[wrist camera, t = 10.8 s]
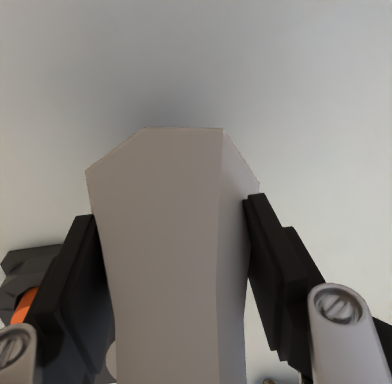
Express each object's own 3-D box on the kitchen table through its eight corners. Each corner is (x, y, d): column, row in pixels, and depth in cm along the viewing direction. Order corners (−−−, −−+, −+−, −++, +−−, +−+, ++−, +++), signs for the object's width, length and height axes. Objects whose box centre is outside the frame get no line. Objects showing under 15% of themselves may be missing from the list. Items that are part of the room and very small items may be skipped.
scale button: (11, 289, 21) (-2, 310, 19) (75, 280, 21) (68, 300, 19) (33, 330, 23) (24, 352, 21) (92, 322, 23) (87, 343, 22)
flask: (52, 153, 11) (-302, 587, 3) (240, 94, 11) (521, 412, 2) (128, 282, 15) (75, 640, 6) (271, 243, 14) (421, 579, 6)
